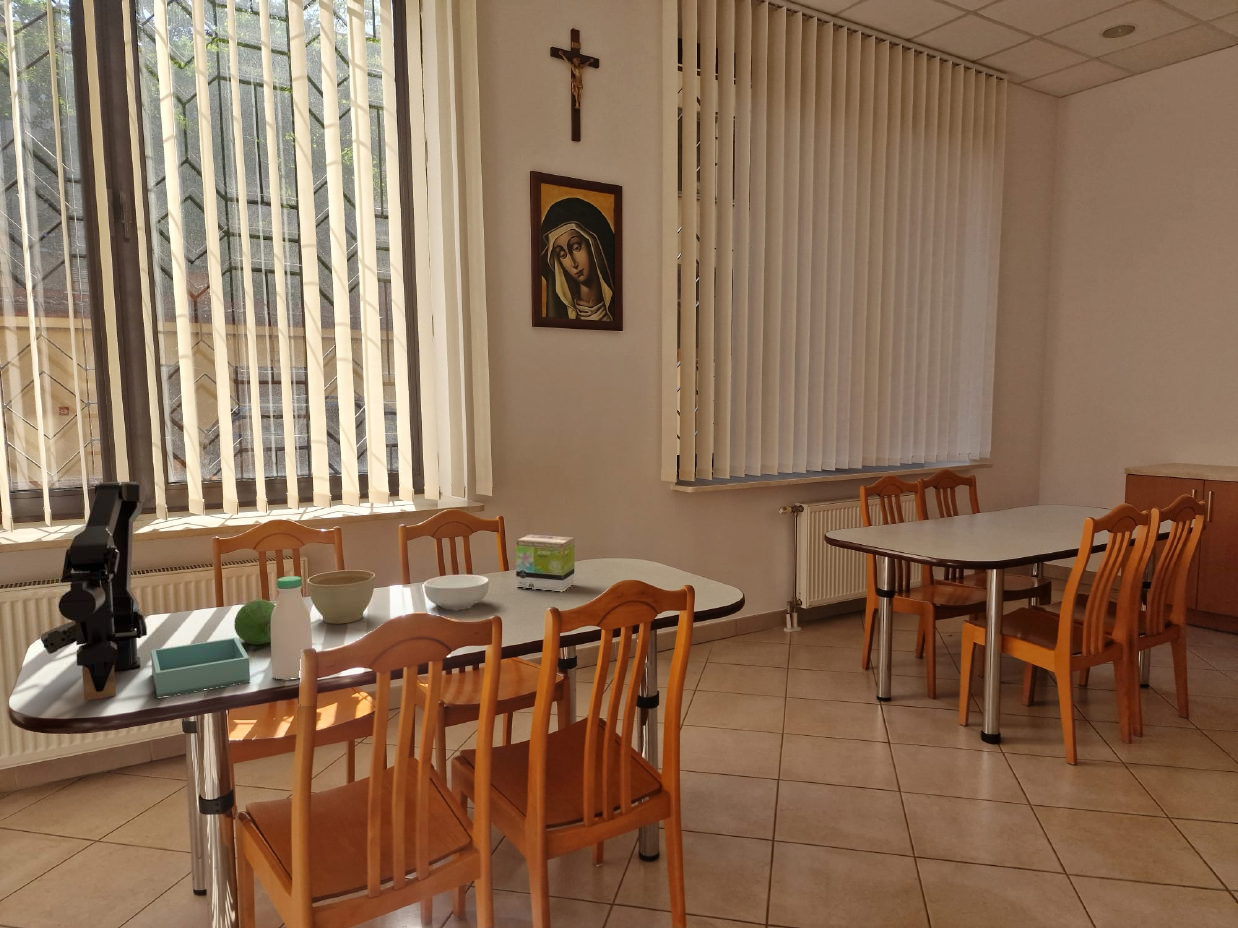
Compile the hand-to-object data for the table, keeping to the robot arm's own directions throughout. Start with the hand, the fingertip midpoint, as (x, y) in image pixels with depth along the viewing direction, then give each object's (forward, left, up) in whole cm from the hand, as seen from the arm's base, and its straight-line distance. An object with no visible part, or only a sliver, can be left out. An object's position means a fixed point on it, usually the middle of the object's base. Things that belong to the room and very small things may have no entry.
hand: (99, 686), depth 154 cm
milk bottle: (+9, +33, -2) cm, 34 cm away
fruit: (-16, +31, -2) cm, 35 cm away
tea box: (-29, +111, -2) cm, 115 cm away
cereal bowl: (-23, +81, -2) cm, 84 cm away
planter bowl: (-27, +52, -2) cm, 59 cm away
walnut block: (0, 0, -1) cm, 1 cm away
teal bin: (+1, +17, -1) cm, 17 cm away
